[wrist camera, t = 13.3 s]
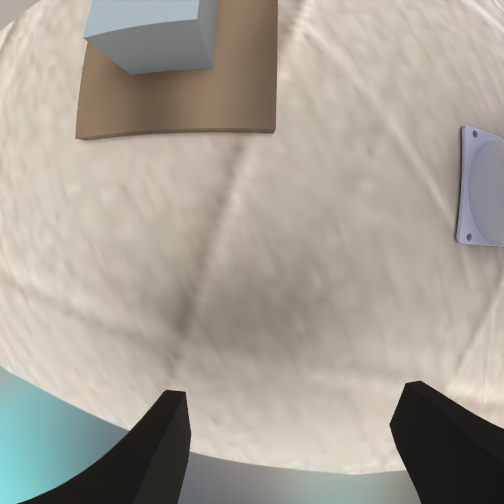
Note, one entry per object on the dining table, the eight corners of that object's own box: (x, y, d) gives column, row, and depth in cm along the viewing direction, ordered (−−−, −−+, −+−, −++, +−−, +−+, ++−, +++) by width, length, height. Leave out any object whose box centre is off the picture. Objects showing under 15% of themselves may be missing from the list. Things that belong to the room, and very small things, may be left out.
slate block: (218, 2, 12) (208, -57, 7) (212, 68, 13) (196, 19, 8) (140, 10, 12) (106, -39, 7) (130, 75, 13) (83, 38, 8)
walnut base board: (275, -22, 13) (277, -33, 11) (273, 133, 15) (275, 129, 14) (109, -8, 12) (102, -16, 11) (85, 140, 15) (75, 138, 14)
